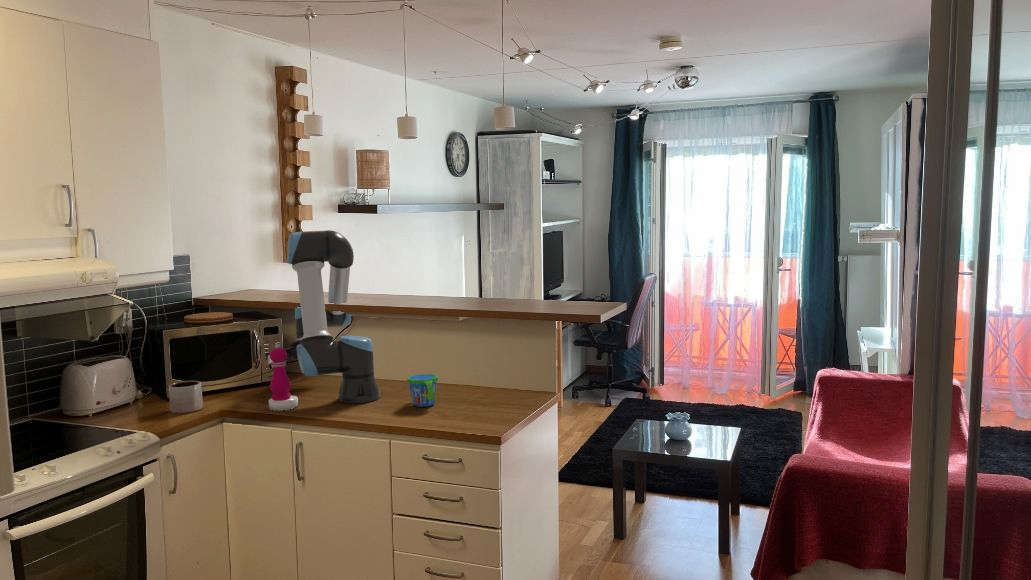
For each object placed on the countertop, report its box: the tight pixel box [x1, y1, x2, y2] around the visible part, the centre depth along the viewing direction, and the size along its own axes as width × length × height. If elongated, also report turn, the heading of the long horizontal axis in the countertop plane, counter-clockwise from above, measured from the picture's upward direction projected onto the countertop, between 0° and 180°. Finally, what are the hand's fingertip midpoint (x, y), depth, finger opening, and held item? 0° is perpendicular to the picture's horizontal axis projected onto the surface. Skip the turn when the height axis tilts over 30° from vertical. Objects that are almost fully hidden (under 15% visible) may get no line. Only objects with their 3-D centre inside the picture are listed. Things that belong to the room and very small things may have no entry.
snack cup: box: [406, 373, 439, 408], centre depth 274 cm, size 16×10×10 cm
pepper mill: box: [269, 343, 292, 401], centre depth 277 cm, size 7×7×20 cm
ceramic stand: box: [268, 395, 299, 412], centre depth 278 cm, size 10×10×3 cm
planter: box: [168, 380, 204, 414], centre depth 278 cm, size 11×11×10 cm
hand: (287, 359), depth 285 cm, fingers open, 13 cm apart
